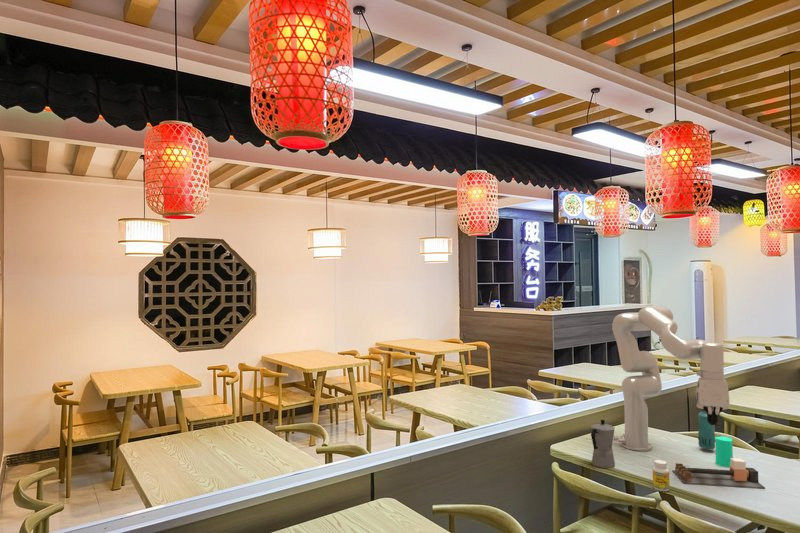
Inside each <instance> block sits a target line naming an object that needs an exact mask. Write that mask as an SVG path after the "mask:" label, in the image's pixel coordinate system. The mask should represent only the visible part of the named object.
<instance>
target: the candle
mask: <svg viewBox="0 0 800 533" xmlns="http://www.w3.org/2000/svg"><path fill="white" fill-rule="evenodd" d="M733 450H734V449H733V438H731V437H729V436H715V464H716V465H717V466H720V467H725V468H730V465H731V464H730V458H734V456H733V454H734V452H733Z"/></svg>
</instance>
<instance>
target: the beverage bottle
mask: <svg viewBox="0 0 800 533" xmlns="http://www.w3.org/2000/svg"><path fill="white" fill-rule="evenodd" d="M711 409H712V410H713V407H711ZM700 410H702V411H700V412H699V413H698V414H697V416H698V419H697V424H698V426H697V428H698V431H697V432H698V433H697V434H698V437H697V439H698V440H697V441H698V444H697V445H698V447H699V448H701V449H705V450H716V445H715V437H716V431H715V426H716V425H711V424H709V423H708V421H707V412H706V411H705V410H704V409H701V408H700Z"/></svg>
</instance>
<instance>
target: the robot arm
mask: <svg viewBox="0 0 800 533" xmlns="http://www.w3.org/2000/svg"><path fill="white" fill-rule="evenodd" d="M611 325H612V326H611V328H612V329H611V330H612V332H613V333H612V334H613V336H614V340H615V342H616V345H617V350H618V355H619V360H620V365H621V368H622V370H623V371H624V372H626V373H631V374H632V373H636V374H637V373H641V374H638V375H629V376H626V377H625V378H623V380H622V382H621V390H622V394H623V402H624V403H623V404H624V405H623V406H624V433H622V435H621V436H618V435H614V436H613V441H616V442H618V443H621V444H620V445H621V446H622V447H623V448H625V449H628V450H632V451H638V452H648V451H651V450H652V449H653V445H652V444H651V443H649V412H648V411H649V409H648V404H647V403H646V401H645V399H644V398H646V397H657V396H659V395H660V393H662V388H663V386H662V380H661V374H660V369H659V365H658V361H657V359H656V356H655V355H654V354H653V353H652V352H650V351H647V350H640V349H639V346H638V345H639V344H638V341H637V339H636V338H635V335H633V334H632V333H631V332H645V331H647V332H648V331H651V332H653V333H654V334H656V335H657V336H659V340H660V343H661V345H662V347H663V348H664V349H665V350H666V351H667V352H668V353H669V354H671V355H672V356H674V357H675V358H677V359H679V360H700V361H699V362H700V366H699V367H700V368H699V371H697V372H696V376H699V378H698V380H697V383H696V391H695V392H696V393H695V395H696V396H695V398H696V399H695V401H696V405H695V406H696V408H698V409H700V410H701V409H704V410H703V411H704V412H707V421H708V423H709V424H711V425H715V426H717V423H718V419H719V418H718V415H719V414H720V413H721V412H722V411H725V410H728V409H729V406H730V392H729V387H728V386H729V385H728V381H727V380H726V379H724V374H725V373H724V372H725V371H724V370H725V369H724V368H725V366H724V365H725V364H724V363H725V362H724V356H725V355H724V351H725V350H724V346H723V344H722V343H719V342H713V341H707V340H705V339H701V338H700V339H681V338H679V337H678V336H677V335H676V334H677V331H678V324H677V322H676V321H675V320H674V313H673V312H672V310H671V309H670V308H669V307H666V306H662V305H659V306H658V305H655V306H650V305H649V306H645V307H642V308H641V309H640V310H639V311H638V312H623V313H619V314H617V315H616V316H614V318H613V321H612V324H611ZM711 408H712V409H711Z"/></svg>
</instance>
